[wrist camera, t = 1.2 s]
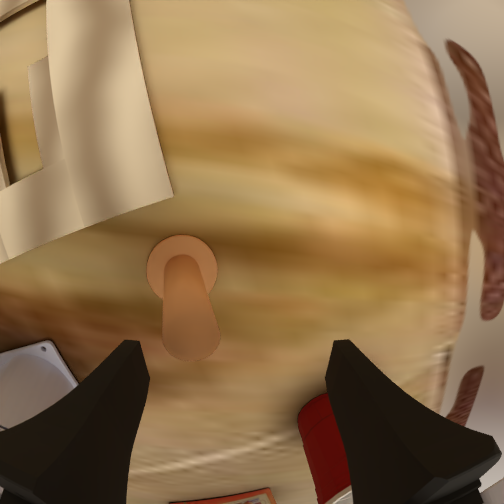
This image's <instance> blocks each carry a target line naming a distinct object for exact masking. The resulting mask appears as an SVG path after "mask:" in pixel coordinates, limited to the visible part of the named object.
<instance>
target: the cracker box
mask: <svg viewBox="0 0 504 504" xmlns="http://www.w3.org/2000/svg"><path fill="white" fill-rule="evenodd" d="M170 504H276V502H275V500H274V497H273V495H272V493H271V491H270V489H269V488H266V489H262V490H258V491H254V492H249V493H244V494H239V495H234V496H228V497H222V498H216V499H209V500H201V501H192V502H181V503H170Z"/></svg>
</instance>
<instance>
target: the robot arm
mask: <svg viewBox="0 0 504 504" xmlns="http://www.w3.org/2000/svg"><path fill="white" fill-rule="evenodd" d="M43 346H44V347H45V348H46V349H44V348H43ZM325 380H326V386H327V392H328V397H329V401H330V405H331V408H332V411H333V414H334V417H335V420H336V423H337V426H338V429H339V433H340V436H341V439H342V442H343V445H344V449H345V453H346V457H347V463H348V469H349V474H350V481H351V489H352V497H353V504H504V478H503V479H501V480H500V481H498V482H497V483H495V484H494V485H492V486H490V487H489V488H487V489H486V490H484V491H483V492H481V493H479V490H478V488H479V487H480V486H481V482H480V480H479V478H480V477H481V476H482V475H484V474H485V473H486V472H487V471H488V470H489V469H490V468H492V467H493V466H494V465H495V464H496V463H497V462H498V460H499V459H500V457H501V455H502V453H501V451H500V449H499V447H498V445H497V444H496V442H495V440H494V438H493V437H492V436H490V435H487V434H484V433H480V432H477V431H474V430H471V429H469V428H466V427H464V426H461V425H459V424H457V423H455V422H452V421H450V420H448V419H446V418H444V417H443V416H441V415H439V414H437V413H435V412H434V411H432V410H430V409H429V408H427V407H425V406H424V405H422V404H421V403H420V402H418V401H417V400H415V399H414V398H412V397H411V396H410V395H408V394H407V393H406V392H404V391H403V390H402V389H401V388H400V387H398V386H397V385H396V384H395V383H394V382H392V381H391V380H390V379H389V378H388V377H387V376H386V375H385V374H383V373H382V372H381V371H380V370H379V369H378V368H377V367H376V366H375V365H374V364H373V363H372V362H371V361H370V360H369V359H368V358H367V357H366V356H365V355H364V354H363V353H362V352H361V351H360V350H359V349H358V348H357V347H356V346H355V345H354V344H353V343H352V342H351V341H350V340H349V339H347V340H335V341H334V342H333V347H332V351H331V355H330V360H329V364H328V368H327V372H326V376H325ZM149 381H150V376H149V373H148V370H147V366H146V363H145V359H144V356H143V352H142V348H141V345H140V341H135V340H124V341H123V342H122V343H121V344H120V345H119V346H118V347H117V348H116V349H115V350H114V351H113V352H112V353H111V354H110V355H109V356H108V357H107V358H106V359H105V360H104V361H103V362H102V363H101V364H100V365H99V366H98V367H97V368H96V369H95V370H94V371H93V372H92V373H91V374H90V375H89V376H88V377H86V378H85V379H84V380H83V381H82V382H81V383H80V384H78V382H77V381H76V379H75V378H74V376H73V375H72V373H71V372H70V370H69V369H68V367H67V365H66V364H65V362H64V361H63V359H62V357H61V356H60V354H59V352H58V351H57V349H56V347H55V345H54V344H53V343H52V342H51V341H49V340H46V341H43V342H39V343H36V344H32V345H28V346H25V347H21V348H18V349H14V350H10V351H7V352H3V353H0V504H126V495H127V483H128V473H129V465H130V458H131V453H132V448H133V444H134V441H135V437H136V434H137V430H138V427H139V423H140V420H141V417H142V413H143V410H144V407H145V403H146V399H147V393H148V387H149Z"/></svg>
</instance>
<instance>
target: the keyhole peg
mask: <svg viewBox="0 0 504 504" xmlns="http://www.w3.org/2000/svg"><path fill="white" fill-rule="evenodd" d="M146 271H147V279H148V282H149V285H150V287H151V288H152V290H153V291H154V292H155V294H156V295H158V296H159V297H160V298H161V299H163V326H162V338H163V344H164V346H165V348H166V350H167V351H168V352H169V353H170V354H171V355H172V356H174V357H176V358H178V359H180V360H184V361H198V360H202V359H204V358H206V357H208V356H210V355H211V354H212V353H213V352H214V351H215V350H216V348H217V347H218V345H219V342H220V330H219V327H218V324H217V321H216V318H215V315H214V312H213V309H212V306H211V303H210V300H209V297H208V293H209V292H210V291H211V289H212V288H213V286H214V284H215V282H216V279H217V271H218V269H217V262H216V259H215V257H214V255H213V253H212V251H211V249H210V248H209V247H208V246H207V245H206V244H205V243H204V242H203V241H202V240H200V239H198V238H196V237H193V236H190V235H174V236H170V237H168V238H166V239H164V240H162V241H161V242H159V243H158V244H157V245H156V246H155V247H154V249H153V250H152V252H151V254H150V256H149V259H148V263H147V269H146Z"/></svg>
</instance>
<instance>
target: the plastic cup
mask: <svg viewBox="0 0 504 504" xmlns="http://www.w3.org/2000/svg"><path fill="white" fill-rule="evenodd" d="M298 428H299V431H300V434H301V437H302V441H303V447H304V451H305V454H306V457H307V461H308V464H309V467H310V471H311V474H312V477H313V481H314V484H315V487H316V488H315V491H316V494H317V497H318V498H317V501H318V504H353V497H352V489H351V481H350V474H349V469H348V463H347V457H346V453H345V449H344V445H343V442H342V439H341V436H340V433H339V429H338V426H337V423H336V420H335V417H334V414H333V411H332V408H331V405H330V401H329V397H328V393H326V394H322V395H320V396H318V397H316V398H314V399H313V400H311V401H310V402H309V403H308V404H307V405H305V406H304V407H303V409H302V410H301V412H300V413H299V415H298Z"/></svg>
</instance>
